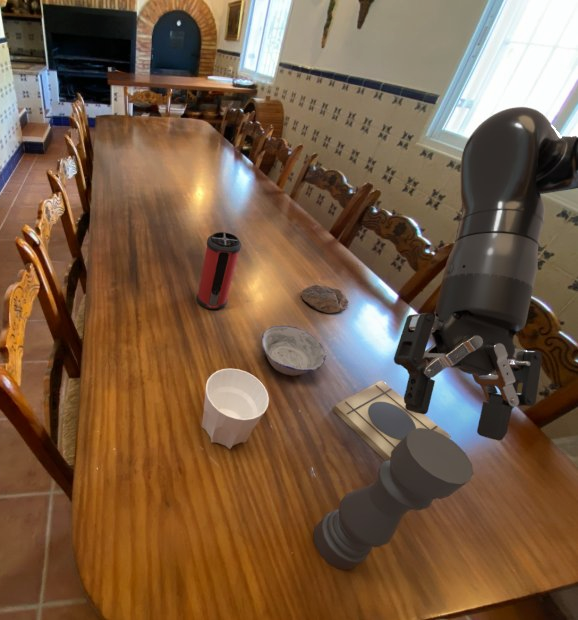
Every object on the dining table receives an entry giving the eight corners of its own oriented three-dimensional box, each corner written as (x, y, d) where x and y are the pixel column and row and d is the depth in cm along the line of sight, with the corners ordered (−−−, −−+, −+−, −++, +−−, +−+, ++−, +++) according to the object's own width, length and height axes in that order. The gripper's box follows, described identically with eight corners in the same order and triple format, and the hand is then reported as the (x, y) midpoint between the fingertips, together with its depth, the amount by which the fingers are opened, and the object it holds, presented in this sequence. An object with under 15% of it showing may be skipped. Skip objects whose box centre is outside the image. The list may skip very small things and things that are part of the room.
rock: (294, 288, 99) (297, 280, 97) (335, 288, 100) (338, 281, 98) (310, 314, 90) (313, 306, 89) (354, 314, 91) (358, 306, 89)
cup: (248, 462, 59) (264, 428, 52) (190, 440, 61) (199, 406, 55) (256, 413, 66) (271, 379, 60) (204, 396, 68) (213, 361, 62)
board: (446, 440, 64) (451, 436, 63) (399, 475, 59) (404, 470, 58) (377, 384, 74) (381, 379, 73) (331, 409, 68) (335, 404, 67)
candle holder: (306, 545, 50) (396, 455, 34) (322, 510, 54) (410, 414, 38) (351, 581, 47) (473, 502, 31) (365, 542, 51) (479, 452, 35)
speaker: (196, 308, 89) (208, 245, 77) (196, 290, 95) (207, 228, 83) (227, 312, 88) (243, 249, 77) (225, 293, 94) (240, 232, 83)
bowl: (307, 342, 82) (315, 326, 79) (326, 387, 72) (335, 371, 69) (251, 337, 82) (257, 322, 79) (262, 382, 72) (269, 366, 69)
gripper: (456, 253, 36) (419, 410, 34) (585, 300, 36) (555, 457, 34) (400, 269, 43) (367, 398, 42) (507, 308, 44) (479, 437, 42)
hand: (452, 425), depth 38 cm, fingers open, 8 cm apart
